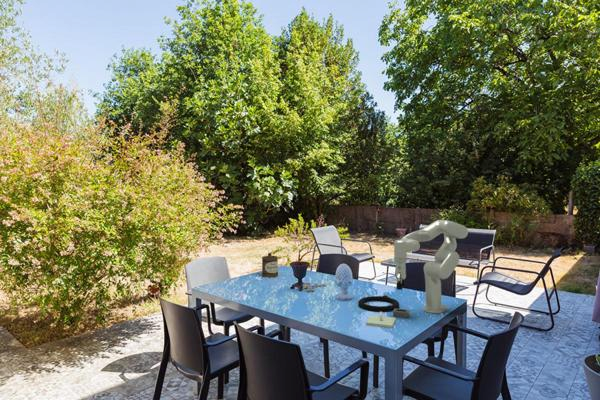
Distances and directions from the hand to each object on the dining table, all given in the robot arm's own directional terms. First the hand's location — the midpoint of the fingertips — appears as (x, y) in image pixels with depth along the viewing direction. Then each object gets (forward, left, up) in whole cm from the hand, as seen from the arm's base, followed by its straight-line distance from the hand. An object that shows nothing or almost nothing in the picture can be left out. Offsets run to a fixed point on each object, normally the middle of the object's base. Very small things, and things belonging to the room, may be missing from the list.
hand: (400, 287), depth 232 cm
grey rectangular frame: (0, 0, -18) cm, 18 cm away
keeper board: (+9, +16, -18) cm, 26 cm away
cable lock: (+17, -18, -18) cm, 31 cm away
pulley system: (+77, -48, -19) cm, 92 cm away
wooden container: (+130, -77, -18) cm, 152 cm away
